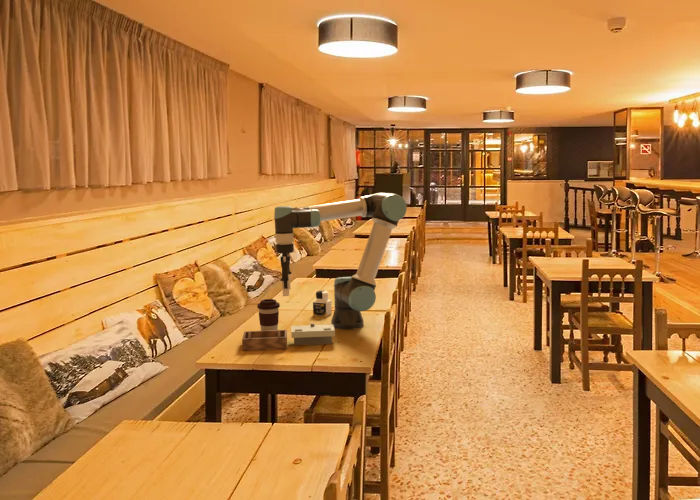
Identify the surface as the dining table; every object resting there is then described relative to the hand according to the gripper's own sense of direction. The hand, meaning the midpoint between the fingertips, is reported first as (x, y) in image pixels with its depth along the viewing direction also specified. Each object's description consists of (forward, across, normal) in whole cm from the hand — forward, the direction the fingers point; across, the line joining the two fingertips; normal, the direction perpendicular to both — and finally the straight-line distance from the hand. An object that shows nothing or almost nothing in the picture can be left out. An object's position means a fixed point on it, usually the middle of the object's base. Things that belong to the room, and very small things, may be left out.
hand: (286, 292), depth 272 cm
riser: (+21, +4, +10) cm, 24 cm away
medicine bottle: (+22, -46, +15) cm, 54 cm away
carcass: (+21, +7, -10) cm, 24 cm away
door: (+17, +4, +10) cm, 21 cm away
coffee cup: (+21, -14, -9) cm, 27 cm away
